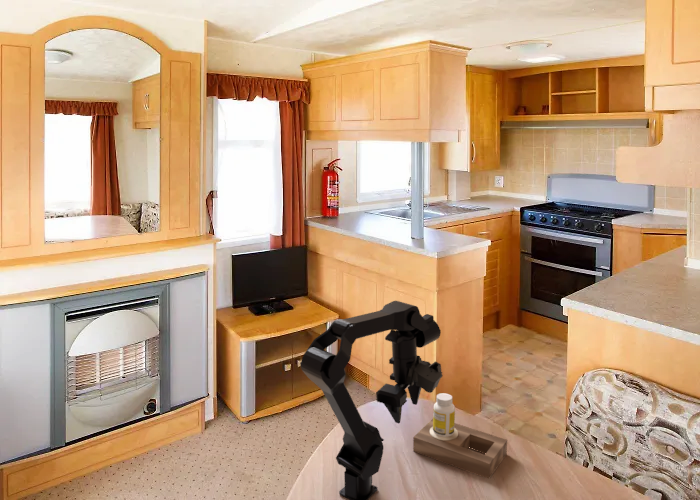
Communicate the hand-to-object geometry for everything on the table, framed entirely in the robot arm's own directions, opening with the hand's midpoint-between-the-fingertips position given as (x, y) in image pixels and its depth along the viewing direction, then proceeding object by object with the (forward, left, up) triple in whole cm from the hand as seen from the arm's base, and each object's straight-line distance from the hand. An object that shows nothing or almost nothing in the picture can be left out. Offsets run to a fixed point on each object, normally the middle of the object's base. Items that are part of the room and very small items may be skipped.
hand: (406, 413), depth 129 cm
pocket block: (+11, -9, -13) cm, 19 cm away
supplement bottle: (+11, -5, -9) cm, 15 cm away
